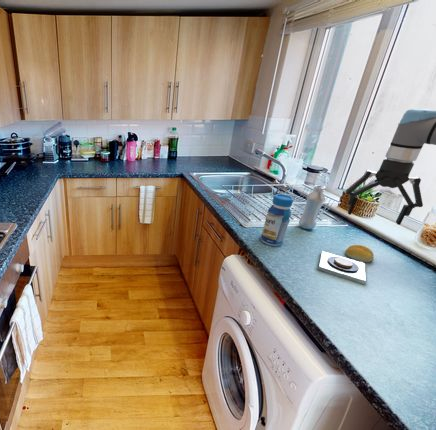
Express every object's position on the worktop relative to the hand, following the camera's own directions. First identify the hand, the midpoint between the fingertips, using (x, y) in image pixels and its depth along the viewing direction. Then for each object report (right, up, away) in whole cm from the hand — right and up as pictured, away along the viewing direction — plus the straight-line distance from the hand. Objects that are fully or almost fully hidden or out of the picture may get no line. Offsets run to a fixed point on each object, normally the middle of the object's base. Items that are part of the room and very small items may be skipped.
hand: (372, 218), depth 102 cm
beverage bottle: (-27, -10, +17) cm, 34 cm away
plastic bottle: (-5, -5, +29) cm, 30 cm away
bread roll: (+1, -15, +8) cm, 17 cm away
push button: (-11, -18, 0) cm, 21 cm away
